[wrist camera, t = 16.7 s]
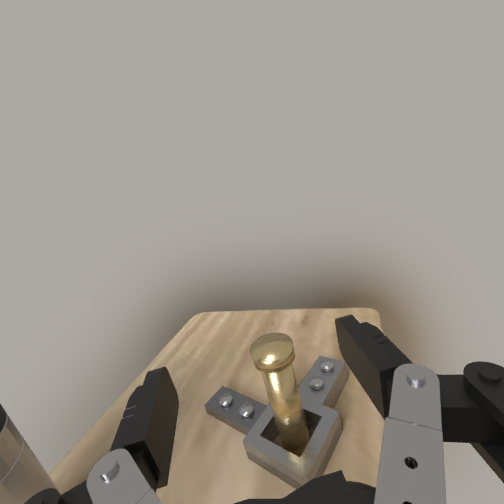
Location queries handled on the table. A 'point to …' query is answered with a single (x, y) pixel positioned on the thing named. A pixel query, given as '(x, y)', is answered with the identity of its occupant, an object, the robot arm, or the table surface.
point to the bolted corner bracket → (265, 429)
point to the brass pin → (282, 389)
